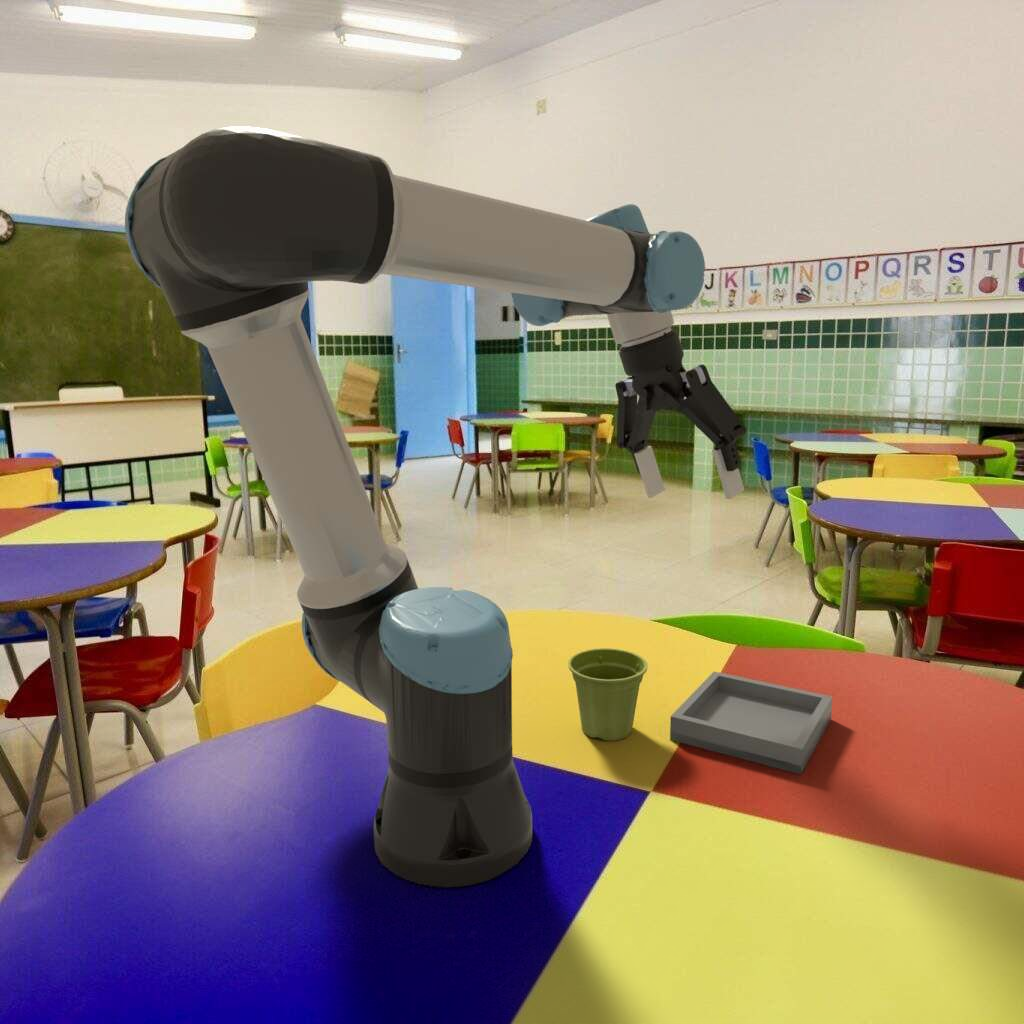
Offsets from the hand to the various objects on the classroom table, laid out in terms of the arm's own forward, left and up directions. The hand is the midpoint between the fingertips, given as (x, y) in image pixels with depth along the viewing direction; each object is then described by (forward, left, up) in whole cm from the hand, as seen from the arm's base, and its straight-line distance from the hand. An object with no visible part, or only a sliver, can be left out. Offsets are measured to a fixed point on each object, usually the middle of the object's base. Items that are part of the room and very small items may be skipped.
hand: (694, 494), depth 105 cm
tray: (-8, -11, -26) cm, 30 cm away
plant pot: (-17, +4, -27) cm, 32 cm away
